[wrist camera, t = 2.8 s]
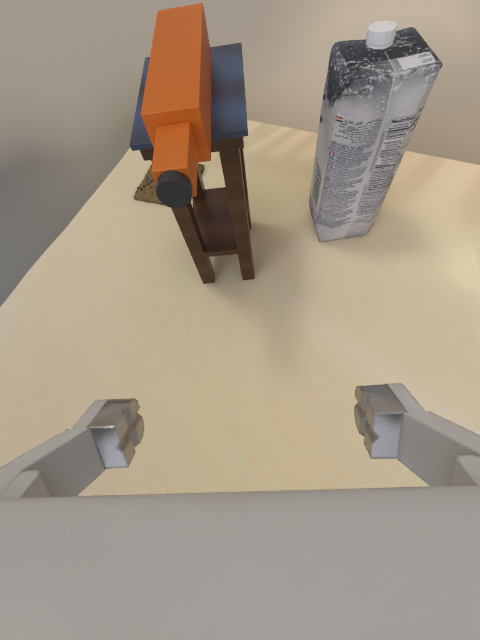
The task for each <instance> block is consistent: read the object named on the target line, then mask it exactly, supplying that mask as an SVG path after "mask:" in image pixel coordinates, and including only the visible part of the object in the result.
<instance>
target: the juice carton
mask: <svg viewBox="0 0 480 640" xmlns="http://www.w3.org/2000/svg"><path fill="white" fill-rule="evenodd" d="M396 30H397V24H396V22H391V21H378V22H376V23H372V24H371V25H370V26H369V27H368V31H367V36H366V40H349V41H340V42H337V43H335V44H334V45H333V47H332V50H331V53H330V60H329V67H328V74H327V79H326V83H325V89H324V95H323V102H322V109H321V116H320V124H319V131H318V138H317V145H316V153H315V160H314V168H313V175H312V183H311V190H310V198H309V207H310V211H311V215H312V218H313V221H314V224H315V227H316V232H317V235H318V238H319V241H320V242H324V241H330V240H335V239H339V238H345V237H353V236H360V235H365V234H367V233H368V231H369V230H370V228H371V226H372V224H373V222H374V221H375V219H376V217H377V215H378V212H379V210H380V208H381V206H382V203H383V201H384V199H385V196H386V194H387V192H388V189H389V187H390V185H391V182H392V180H393V178H394V175H395V173H396V171H397V168H398V166H399V164H400V161H401V159H402V157H403V154H404V152H405V150H406V147H407V145H408V143H409V140H410V138H411V136H412V134H413V131H414V129H415V127H416V124H417V122H418V119H419V117H420V115H421V112H422V110H423V108H424V105H425V103H426V101H427V98H428V96H429V93H430V91H431V88H432V86H433V84H434V82H435V80H436V77H437V75H438V73H439V70H440V68H441V67H442V63H441V62H440V60H439V59H438V57H437V56H436V55H435V53H434V52H433V51H432V50H431V48H430V47H429V46H428V45H427V43H426V42H425V41H424V39H423V38H422V37H421V36H420V34H419V33H418V31H417V30H416V29H415V28H412V27H410V28H406V29H402V30H399V31H396Z"/></svg>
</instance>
